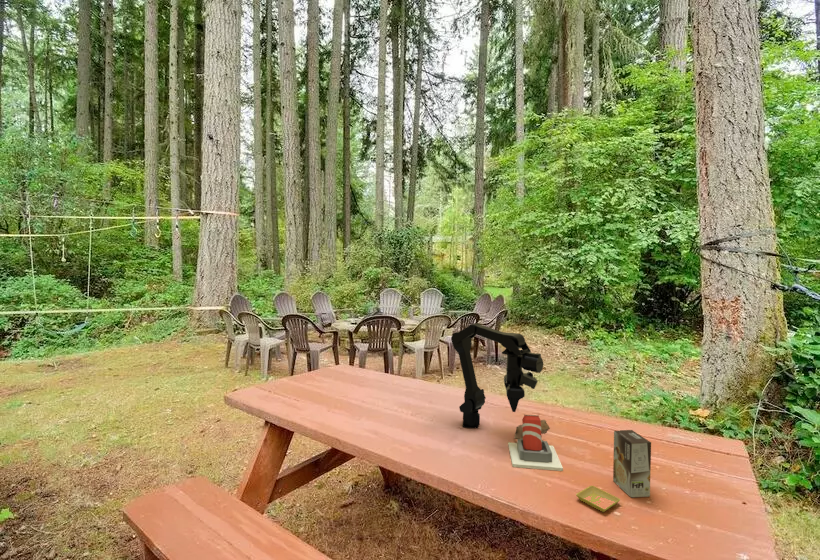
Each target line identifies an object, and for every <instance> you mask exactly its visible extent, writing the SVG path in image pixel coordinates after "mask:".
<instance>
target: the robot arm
mask: <svg viewBox="0 0 820 560" xmlns="http://www.w3.org/2000/svg"><path fill="white" fill-rule="evenodd" d="M476 336H477V337H481V338H484V339H487V340H490V341H493V342H496V343H499V344H500V345H501V346H502V347H503V348H505V349H504V350H503V351H502V352H501V354H502V355H506V367H505V371H506V372H505V373H506V374H505V375H504V376H503V384H504V388H505V390H506V397H507V400H508V404H509V406H510V408H511V411H512V413H516V411H517V408H518V406H519V405H518V404H519V402H520V401H521V399H523V398H525V393H526V392H525V389H524V388H523V386H527V387H529V388H531V389H532V390H535V389H536V387H537V384H538V379H537V378H536V377H534V374H533V372H534V373H538V374H539V373H542V371H543V367H544V361H543V358H542V355H541V353H535V352H532V350H531V349H530V347H529V345H528V344H527V342H526V339H525V337H524V334H521V333H516V332H504V331H502V330H497V329H495V328H493V327H492V328H491V327H489V326H485V325H481V324H480V323H472V324H469V325H468V326H467V327H465V328H463V329H461V330H460V331H456V332H454V333H453V334H452V336H451V337H450V341H451V344H452V347H453V348H454V350H455V351H456V352H457V353H458V357H459V361H460V366H461V371H462V376H463V380H464V381H463V382H464V386H465V390H464V394H463V398H464V402H463V403H461V404H460V405H459V412H460V413H462V428H469V429H470V428H471V429H479V426H480V424H481V423H480V419H481V418H480V416H481V415H480V413H479V410H481V409H482V408H483V406H484V404H486V403H485V402H486V399H487V397H486V395H485V390H484V389H483V388H480V387H479V386H478V381H477V377H476V373H475V369H474V364H473V360H472V355H471V349H472V344H473V343H472V339H474V338H476ZM523 370H524V371H528V372H526V373H524V371H523Z"/></svg>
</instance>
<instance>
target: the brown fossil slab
mask: <svg viewBox="0 0 820 560" xmlns="http://www.w3.org/2000/svg"><path fill="white" fill-rule="evenodd" d="M540 420H541V434H545V433H547V432H548V430H550V429H551V427H550V426H549V424H548V423H547V420H546V419H540ZM515 428H516V429H515V433H514V438H513V439H514V440H517V439H523V423H522V424H521V425H517V426H516V427H515Z"/></svg>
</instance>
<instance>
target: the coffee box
mask: <svg viewBox="0 0 820 560" xmlns="http://www.w3.org/2000/svg"><path fill="white" fill-rule="evenodd" d="M651 462H652V441H650V440H648V439H646V438H645V437H643V436H642V435H641V434H639V433H637V432H636V431H635V430H633V429H623V430H622V429H621V430H613V470H612V473H613V474H612V478H613V479H612V482H614V483H615V484H616V485H617V486H618V485H619V486H618V487H619V488H620V489H621V490H623V492H625V494H626V495H628V496H629V498H647V497H651V470H652V469H651V467H652V465H651V464H652V463H651Z"/></svg>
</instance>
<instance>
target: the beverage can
mask: <svg viewBox="0 0 820 560" xmlns="http://www.w3.org/2000/svg"><path fill="white" fill-rule="evenodd" d="M541 420H542V419H541V418H540V415H539V414H538V415H535V414H523V417H522V424H523V449H525V450H526V451H537V452H540V450H542V440H543V439H542V437H543V436H542V433H541Z"/></svg>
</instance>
